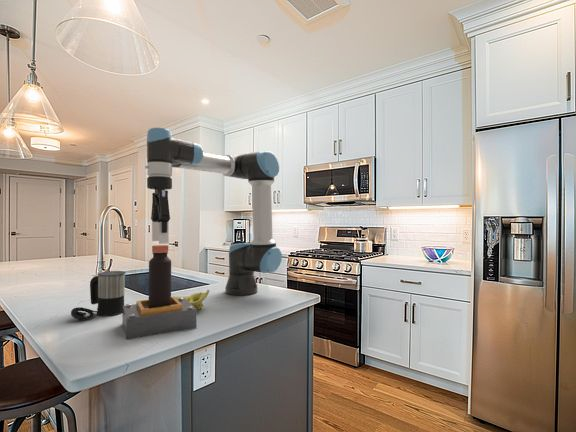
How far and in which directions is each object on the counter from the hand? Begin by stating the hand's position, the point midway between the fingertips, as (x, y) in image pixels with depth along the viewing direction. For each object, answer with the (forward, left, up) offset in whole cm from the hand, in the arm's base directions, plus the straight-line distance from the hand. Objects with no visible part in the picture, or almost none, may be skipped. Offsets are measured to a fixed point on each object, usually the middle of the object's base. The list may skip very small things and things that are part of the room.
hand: (159, 242), depth 105 cm
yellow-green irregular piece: (-12, -17, -28) cm, 35 cm away
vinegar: (0, 0, -21) cm, 21 cm away
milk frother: (+17, -23, -27) cm, 39 cm away
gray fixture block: (0, 0, -27) cm, 27 cm away
